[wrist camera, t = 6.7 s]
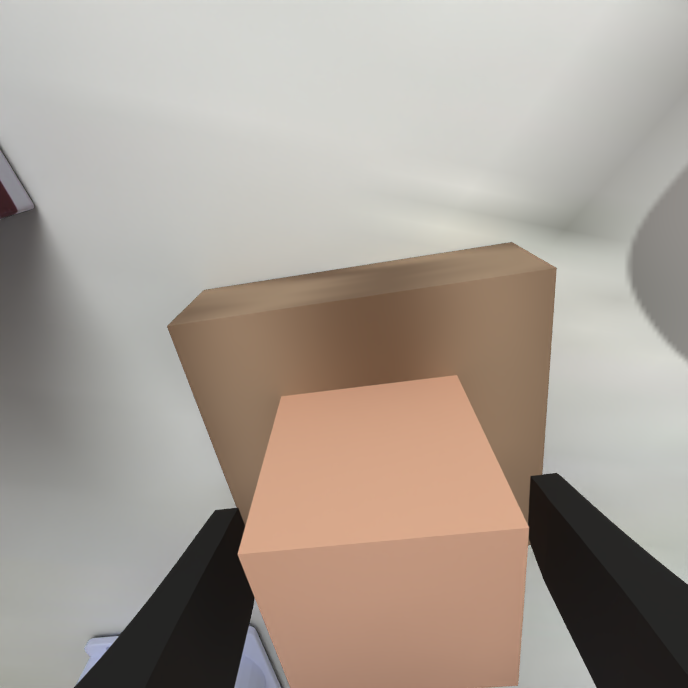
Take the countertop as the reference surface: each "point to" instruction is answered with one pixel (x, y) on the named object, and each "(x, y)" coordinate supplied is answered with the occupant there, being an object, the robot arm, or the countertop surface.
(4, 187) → the supplement box
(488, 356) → the walnut base
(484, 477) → the terracotta cube
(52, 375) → the countertop surface
